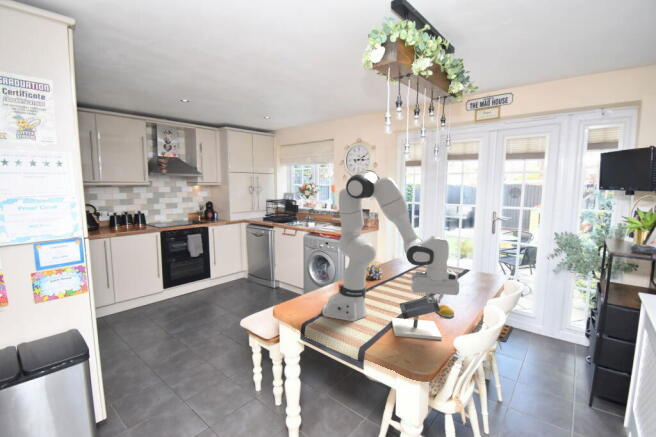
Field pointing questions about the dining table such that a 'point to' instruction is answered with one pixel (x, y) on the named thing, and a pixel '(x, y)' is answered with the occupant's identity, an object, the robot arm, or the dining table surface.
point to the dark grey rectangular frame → (418, 307)
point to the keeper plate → (415, 328)
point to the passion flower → (375, 271)
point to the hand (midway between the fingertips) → (433, 302)
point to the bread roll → (445, 311)
